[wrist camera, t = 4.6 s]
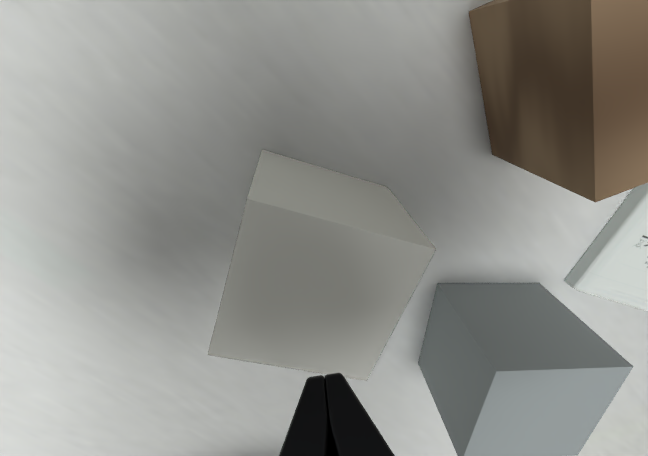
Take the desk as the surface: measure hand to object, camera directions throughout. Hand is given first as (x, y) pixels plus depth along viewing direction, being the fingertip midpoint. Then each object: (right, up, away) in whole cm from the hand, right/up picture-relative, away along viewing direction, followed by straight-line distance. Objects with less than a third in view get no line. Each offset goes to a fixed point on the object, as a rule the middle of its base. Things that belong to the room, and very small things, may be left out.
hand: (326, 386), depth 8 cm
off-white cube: (-1, +4, +8) cm, 9 cm away
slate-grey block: (+9, -2, +12) cm, 15 cm away
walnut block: (+9, +11, +6) cm, 15 cm away
